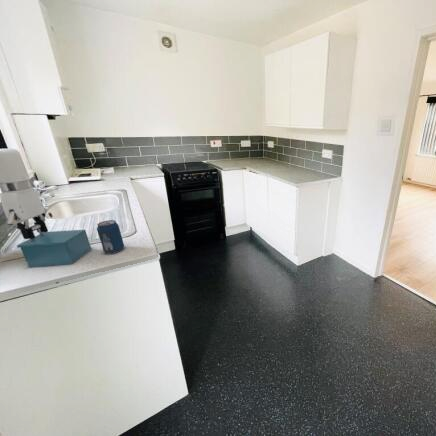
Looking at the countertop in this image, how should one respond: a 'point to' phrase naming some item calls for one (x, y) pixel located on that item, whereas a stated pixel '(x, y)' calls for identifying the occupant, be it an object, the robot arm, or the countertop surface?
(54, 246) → the box
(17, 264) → the countertop surface
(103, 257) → the countertop surface
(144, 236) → the countertop surface
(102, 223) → the soda can
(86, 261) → the countertop surface
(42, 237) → the freezer lid
